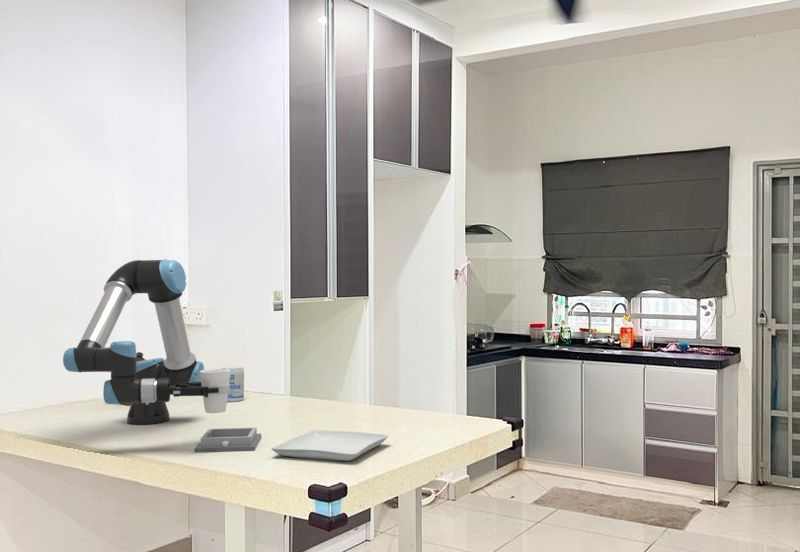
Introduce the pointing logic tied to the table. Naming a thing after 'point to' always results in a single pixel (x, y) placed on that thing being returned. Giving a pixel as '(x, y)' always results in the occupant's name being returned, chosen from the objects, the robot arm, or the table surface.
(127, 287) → the robot arm
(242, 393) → the supplement tub
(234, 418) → the table surface
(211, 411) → the foam cup
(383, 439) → the square plate
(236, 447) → the tray
